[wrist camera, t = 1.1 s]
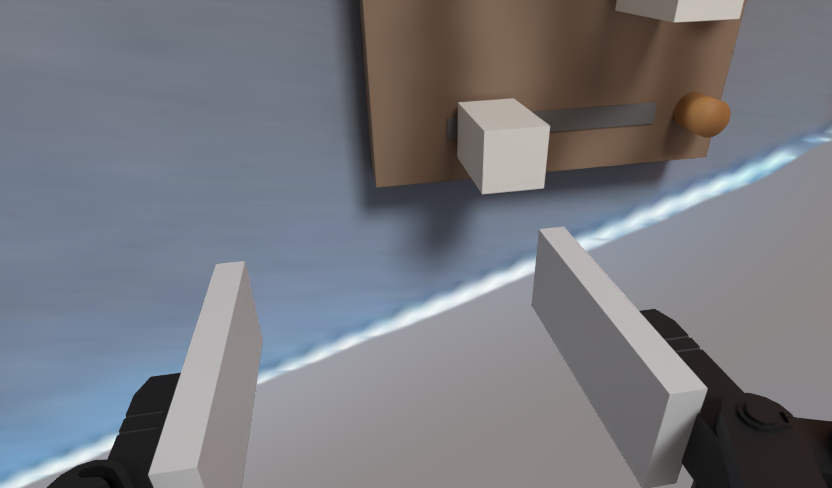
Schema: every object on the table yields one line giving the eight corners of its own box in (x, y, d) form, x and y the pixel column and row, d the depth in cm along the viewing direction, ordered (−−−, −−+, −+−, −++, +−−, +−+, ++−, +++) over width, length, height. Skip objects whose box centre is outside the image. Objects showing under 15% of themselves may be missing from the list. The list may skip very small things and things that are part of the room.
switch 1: (457, 157, 28) (482, 194, 24) (457, 102, 27) (484, 131, 23) (510, 152, 29) (544, 188, 25) (513, 98, 27) (549, 125, 23)
